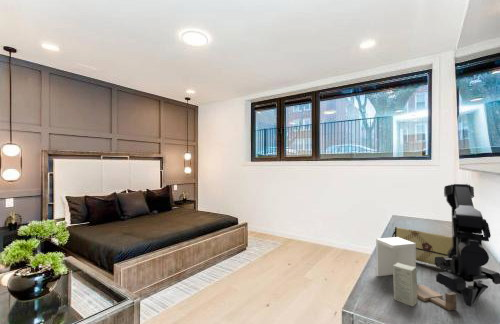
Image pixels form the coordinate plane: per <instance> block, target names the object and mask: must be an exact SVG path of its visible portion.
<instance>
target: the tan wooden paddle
mask: <svg viewBox="0 0 500 324" xmlns="http://www.w3.org/2000/svg"><path fill="white" fill-rule="evenodd" d="M443 296H444V297H445V300H443V298H444V297H443ZM417 299H420V300H421V301H423V302H428V301H430V302H432V303H434V304H436V305H438V306H440V307H441V308H443V309H444V310H447V311H449V312H450V311H455V310H456V311H457V293H455V292H453V291H451V292H445V295H443V294H441V293H439V292H437V291H435V290H433V289H431V288H429V287H428V286H425V285H424V284H419V285H418V284H417Z"/></svg>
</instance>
